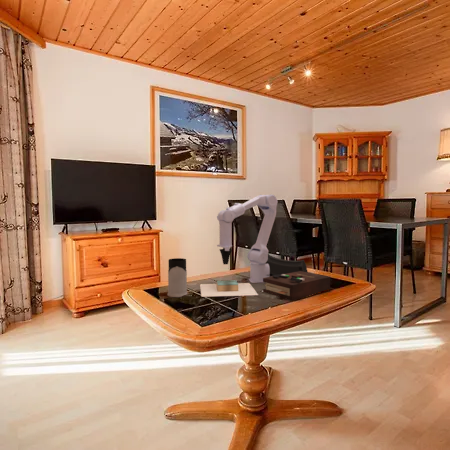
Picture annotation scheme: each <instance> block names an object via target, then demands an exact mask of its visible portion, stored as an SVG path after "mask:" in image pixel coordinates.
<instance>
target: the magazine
mask: <svg viewBox="0 0 450 450" xmlns="http://www.w3.org/2000/svg"><path fill="white" fill-rule="evenodd" d="M266 264H269V268H270V275H272V276H273V275H278V274H279V275H282V274H287V273H293V272H298V271H303V272H308V268H307V267H308V266H307V264H306V262H305V260H304V259H301V260H290V259H289V260H288V259H283V258H278V257H275V256H273V255H270V254H269V253H268V260H267V262H266ZM308 273H309V272H308Z"/></svg>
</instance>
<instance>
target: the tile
mask: <svg viewBox="0 0 450 450" xmlns="http://www.w3.org/2000/svg"><path fill="white" fill-rule="evenodd" d="M238 283H239V282H238V281H237V280H235V279H233V280H232V279H231V280H228V279H227V280H226V279H225V280H216V284H217V290H218V292H219V291H238Z"/></svg>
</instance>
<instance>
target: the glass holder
mask: <svg viewBox="0 0 450 450" xmlns="http://www.w3.org/2000/svg"><path fill="white" fill-rule="evenodd" d="M167 271H168V272H167V278H168V279H167V280H168V281H167V282H168V283H167V285H168V287H167V289H168V290H167V296H168V297H170V298H182V297H183V296H187V295H188V287H187V286H188V285H187V283H188V281H187V279H188V278H187V275H188V271H187V259H186V258H180V257H178V258H177V257H176V258H175V257H174V258H169V259H168V270H167Z"/></svg>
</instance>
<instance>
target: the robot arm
mask: <svg viewBox="0 0 450 450" xmlns="http://www.w3.org/2000/svg"><path fill="white" fill-rule="evenodd" d="M278 202H279V201H278V199H277V196H275V194H272V193H271V194H259V195H256V196H254V197H252V198H251V199H249V200H247V201H245V202H244V203H239V202H234V205H232V206H227V207H226V209H222V210H219V212H218V214H217V216H216V218H217V220H218V223H219V226H218V227H219V229H218V230H219V244H216V246H217V248H218V247H220V248H219V250H218V251H219V252H220V255H221V259H222V264H223V265H229V260H230V256H231V253H232V252H233V250H232V247H233V245H232V243H233V242H232V240H233V239H232V231H233V230H232V228H233V227H232V223H233V221H234V219H236V218H238V217H240V216H242V215H244V214H245V213H246V211H247V210H250V209H251V208H254V207H256V206H257V207H258V208H260V210H261V211H262V212H263V214H264V217H263V219H262V222H261V225H260V228H259V232H258V235H257V238H256V242H255V243H254V244H253V245H252V246H251V248H250V250H249V251H248V253H247V259H248V261H249V263H250V272H249V273H250V274H249V275H250V278H248V281H249V283H250V284H251V283H253V284H254V283H255V284H256V283H265V284H266V282H263V278H266V277H271V274H270V268H269V264H266V262H267V260H268V254H269V249H268V247H267V244H268V242H269V240H270V239H269V238H270V235H271V232H272V229H273V226H274V222H275V220H276V216H277V207H278ZM268 275H269V276H268Z"/></svg>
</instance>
